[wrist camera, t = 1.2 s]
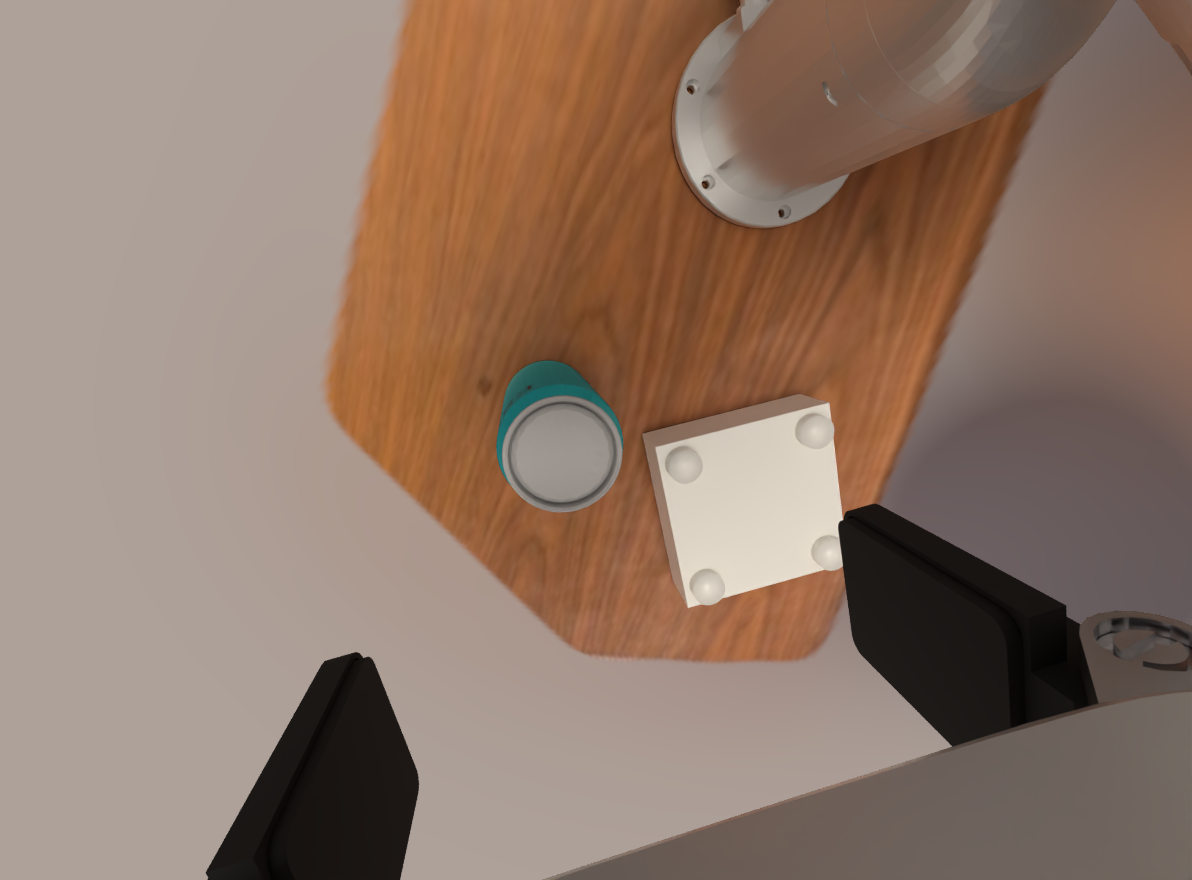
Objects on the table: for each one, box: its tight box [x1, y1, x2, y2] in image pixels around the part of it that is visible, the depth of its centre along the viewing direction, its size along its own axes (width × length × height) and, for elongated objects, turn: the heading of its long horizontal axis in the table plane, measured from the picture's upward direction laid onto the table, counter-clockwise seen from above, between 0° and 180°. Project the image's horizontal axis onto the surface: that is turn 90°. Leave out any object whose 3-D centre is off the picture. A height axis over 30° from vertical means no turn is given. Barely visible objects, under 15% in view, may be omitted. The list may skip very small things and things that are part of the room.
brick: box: [642, 394, 843, 608], centre depth 39 cm, size 12×12×5 cm
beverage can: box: [496, 360, 623, 512], centre depth 31 cm, size 6×6×15 cm
